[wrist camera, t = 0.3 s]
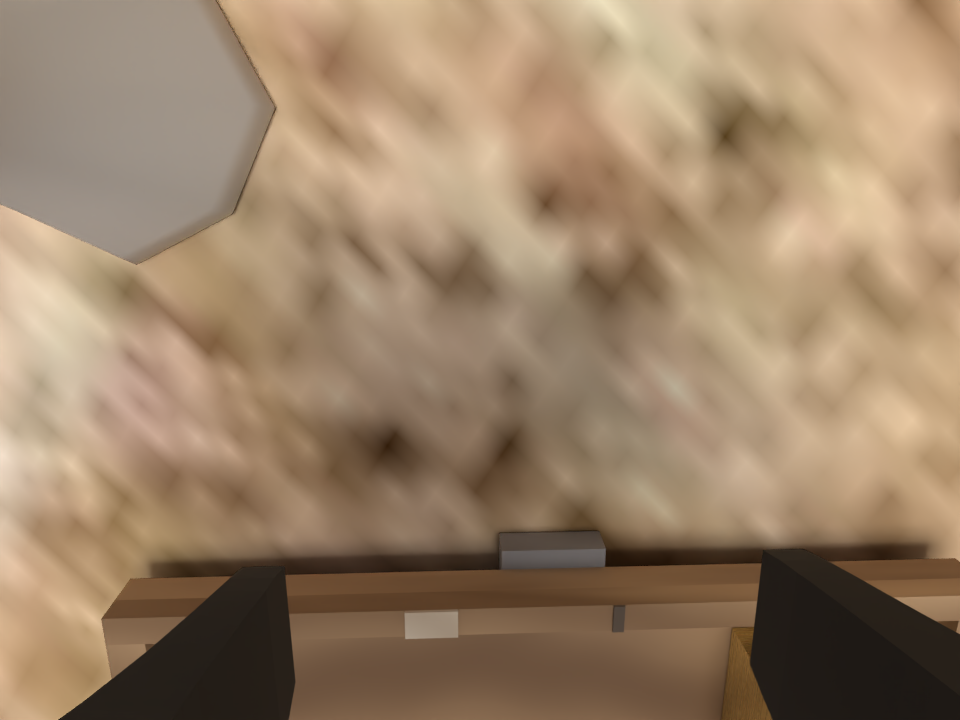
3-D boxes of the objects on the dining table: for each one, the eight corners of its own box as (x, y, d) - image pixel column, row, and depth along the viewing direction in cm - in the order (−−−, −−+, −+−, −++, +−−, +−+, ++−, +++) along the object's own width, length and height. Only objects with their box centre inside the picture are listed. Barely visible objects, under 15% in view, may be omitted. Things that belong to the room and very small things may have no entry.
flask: (-95, 107, 18) (-744, 59, 8) (88, -131, 16) (-420, -527, 7) (147, 310, 19) (-149, 473, 10) (329, 108, 18) (198, 65, 8)
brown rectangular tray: (893, 733, 24) (951, 809, 22) (174, 759, 23) (138, 842, 21) (936, 523, 22) (1007, 577, 19) (141, 541, 21) (95, 601, 18)
